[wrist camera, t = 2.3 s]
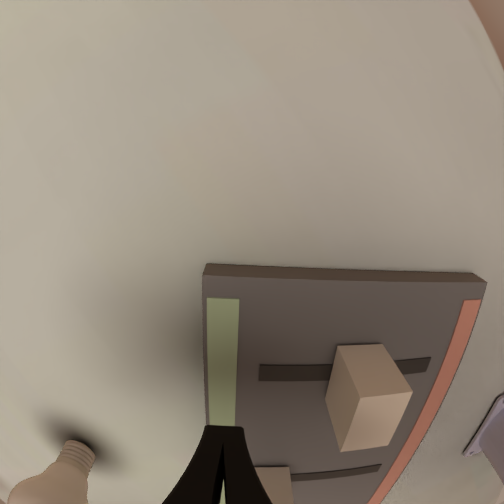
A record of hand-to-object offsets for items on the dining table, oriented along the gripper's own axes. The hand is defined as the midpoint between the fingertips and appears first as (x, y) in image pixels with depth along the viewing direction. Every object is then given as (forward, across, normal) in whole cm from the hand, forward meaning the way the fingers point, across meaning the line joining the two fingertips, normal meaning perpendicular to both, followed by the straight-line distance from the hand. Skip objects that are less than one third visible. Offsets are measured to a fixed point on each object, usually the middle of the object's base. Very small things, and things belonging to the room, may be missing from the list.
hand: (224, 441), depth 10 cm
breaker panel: (+6, -6, +10) cm, 13 cm away
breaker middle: (+4, -3, +10) cm, 11 cm away
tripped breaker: (+4, -6, 0) cm, 8 cm away
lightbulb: (+6, +12, +11) cm, 17 cm away
